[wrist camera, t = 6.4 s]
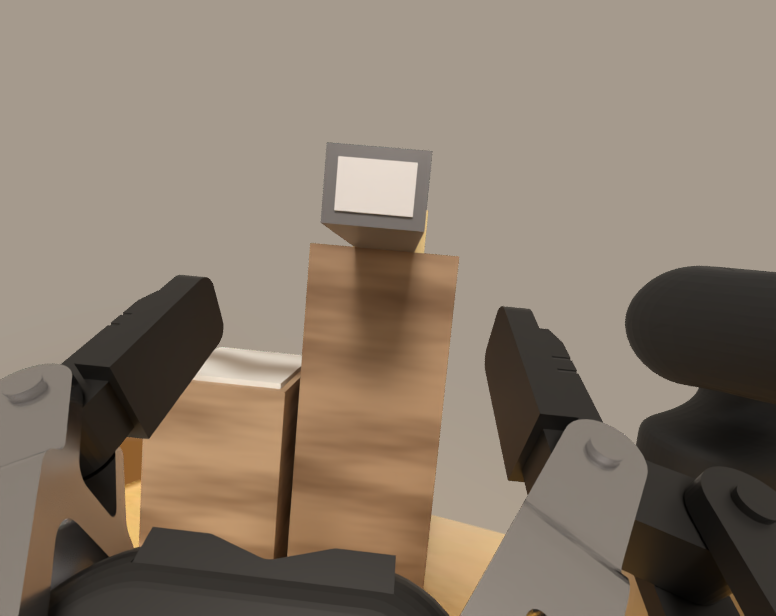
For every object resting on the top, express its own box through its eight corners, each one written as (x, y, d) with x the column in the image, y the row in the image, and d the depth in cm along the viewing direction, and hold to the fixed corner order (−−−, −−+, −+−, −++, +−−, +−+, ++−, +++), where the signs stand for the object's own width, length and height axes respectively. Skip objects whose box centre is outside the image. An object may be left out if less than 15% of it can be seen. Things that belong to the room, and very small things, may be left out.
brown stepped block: (207, 553, 36) (224, 243, 34) (408, 577, 36) (441, 263, 33) (134, 656, 26) (150, 228, 24) (411, 691, 26) (459, 256, 23)
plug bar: (360, 257, 35) (363, 217, 35) (419, 262, 35) (423, 222, 35) (294, 219, 13) (301, 111, 13) (451, 233, 13) (462, 124, 13)
